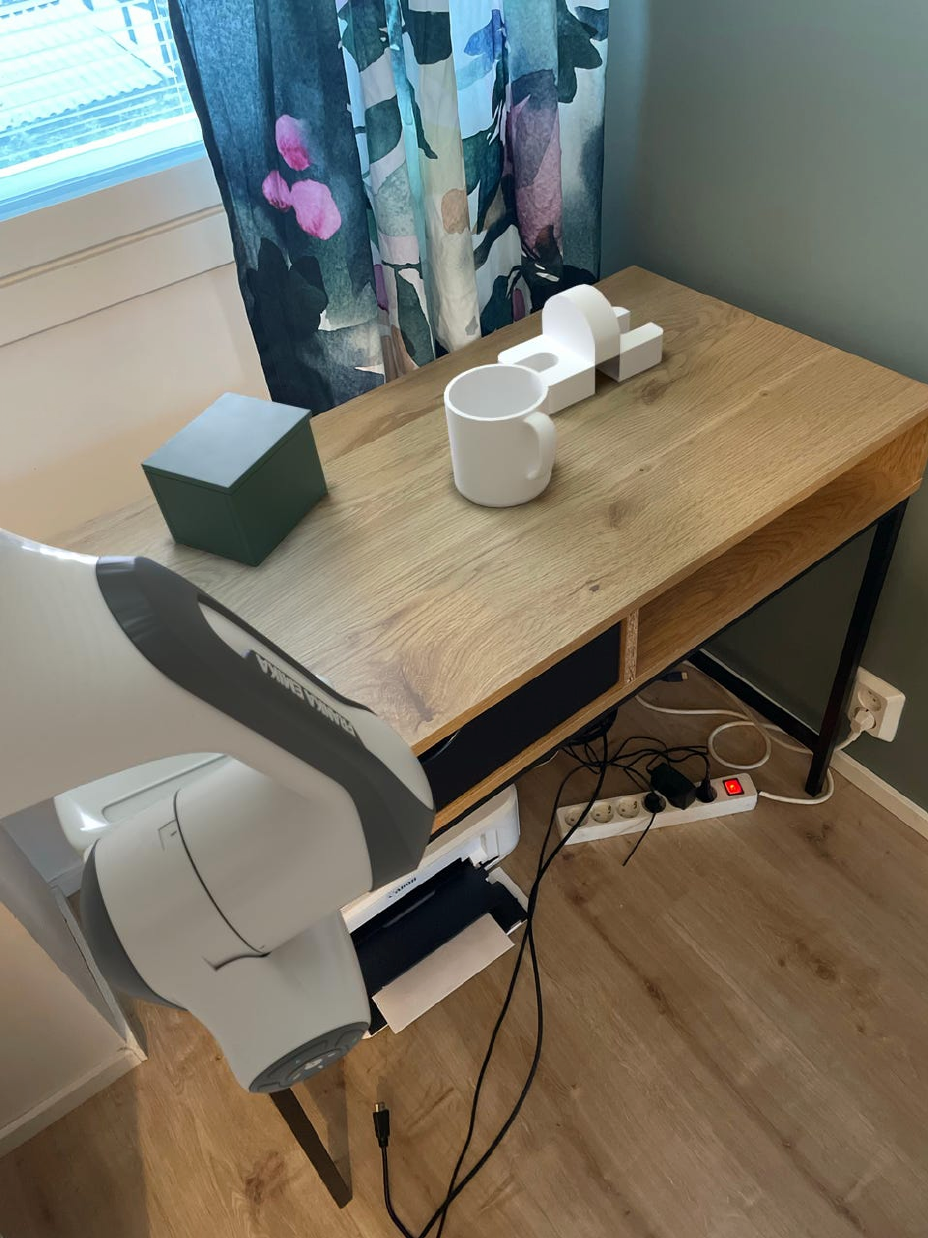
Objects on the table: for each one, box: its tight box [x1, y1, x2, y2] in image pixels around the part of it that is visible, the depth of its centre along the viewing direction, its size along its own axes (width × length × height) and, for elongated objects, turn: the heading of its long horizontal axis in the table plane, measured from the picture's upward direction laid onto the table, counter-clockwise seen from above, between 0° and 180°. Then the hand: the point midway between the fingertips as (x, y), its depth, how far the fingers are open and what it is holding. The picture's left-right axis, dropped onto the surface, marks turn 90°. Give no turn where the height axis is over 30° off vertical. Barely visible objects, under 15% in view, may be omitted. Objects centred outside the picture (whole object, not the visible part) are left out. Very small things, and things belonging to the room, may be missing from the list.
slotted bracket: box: [497, 283, 664, 415], centre depth 102 cm, size 18×10×10 cm, turn 124°
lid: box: [140, 391, 313, 494], centre depth 86 cm, size 13×11×1 cm
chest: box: [143, 420, 328, 568], centre depth 89 cm, size 13×11×9 cm
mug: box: [443, 363, 558, 508], centre depth 88 cm, size 13×10×10 cm
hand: (185, 694), depth 68 cm, fingers open, 8 cm apart
